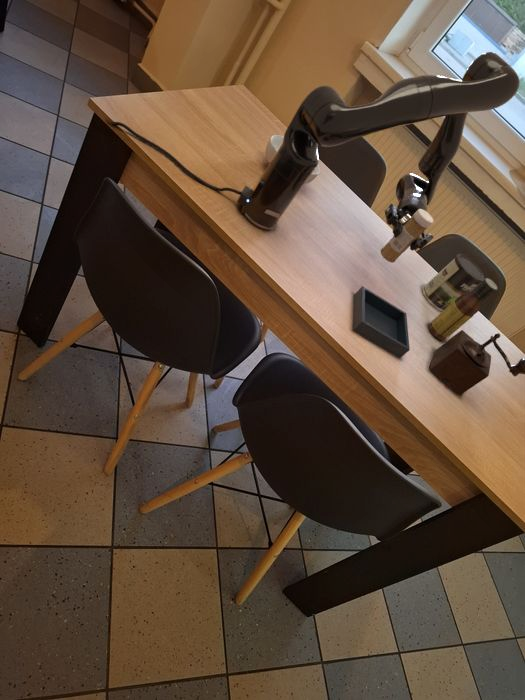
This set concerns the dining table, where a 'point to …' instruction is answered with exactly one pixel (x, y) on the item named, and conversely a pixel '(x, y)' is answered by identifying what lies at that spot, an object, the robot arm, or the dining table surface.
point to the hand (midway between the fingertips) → (406, 240)
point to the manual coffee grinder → (467, 362)
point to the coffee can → (452, 282)
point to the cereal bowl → (274, 147)
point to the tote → (380, 322)
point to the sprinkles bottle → (407, 235)
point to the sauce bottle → (461, 310)
